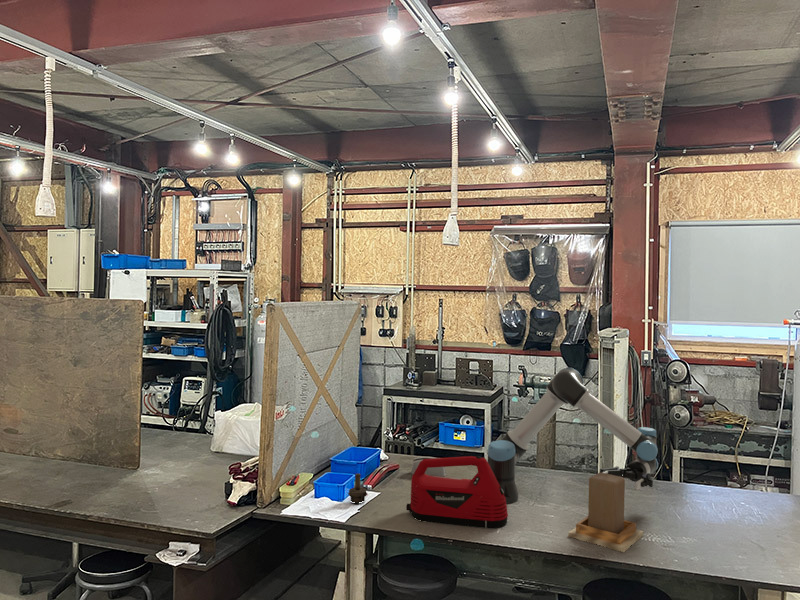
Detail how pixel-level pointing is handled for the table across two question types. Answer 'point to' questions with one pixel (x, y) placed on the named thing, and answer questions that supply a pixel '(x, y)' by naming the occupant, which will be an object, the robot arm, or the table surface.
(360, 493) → the industrial component
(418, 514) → the power tool
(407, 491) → the table surface
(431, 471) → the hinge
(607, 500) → the block
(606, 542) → the wooden tray
